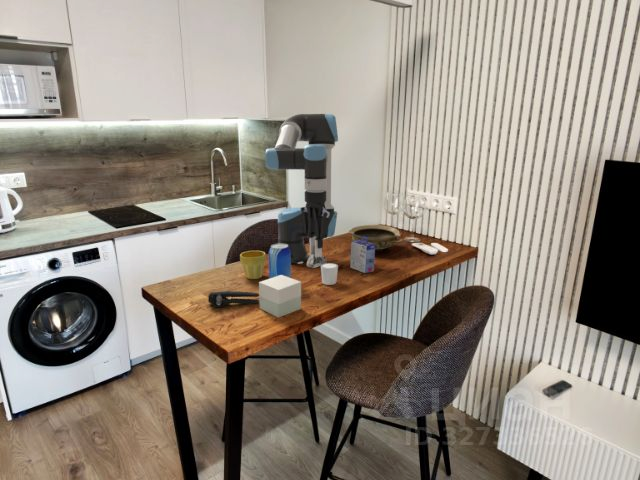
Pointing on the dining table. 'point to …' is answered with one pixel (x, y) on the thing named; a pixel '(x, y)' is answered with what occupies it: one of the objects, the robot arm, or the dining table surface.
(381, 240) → the ceramic bowl
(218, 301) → the can opener
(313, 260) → the house of cards
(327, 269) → the white gray-rimmed cylinder
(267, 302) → the tower bottom block
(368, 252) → the ink cartridge box
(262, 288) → the tower top block
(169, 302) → the dining table surface
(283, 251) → the beer can
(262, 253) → the plant pot
